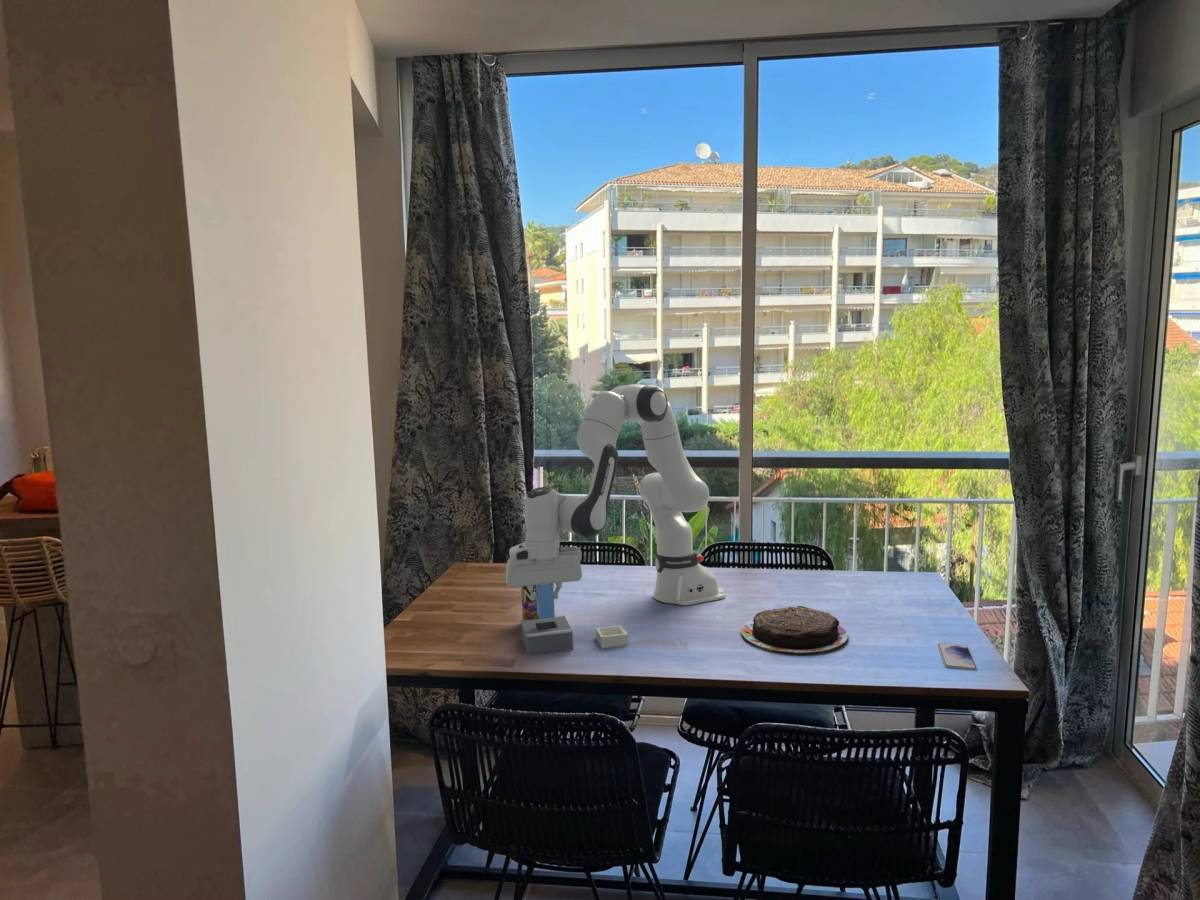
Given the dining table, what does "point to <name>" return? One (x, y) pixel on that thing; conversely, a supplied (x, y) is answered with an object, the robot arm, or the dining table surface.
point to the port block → (546, 635)
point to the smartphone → (956, 656)
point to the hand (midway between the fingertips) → (545, 599)
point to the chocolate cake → (795, 631)
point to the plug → (545, 600)
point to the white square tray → (611, 636)
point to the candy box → (529, 604)
